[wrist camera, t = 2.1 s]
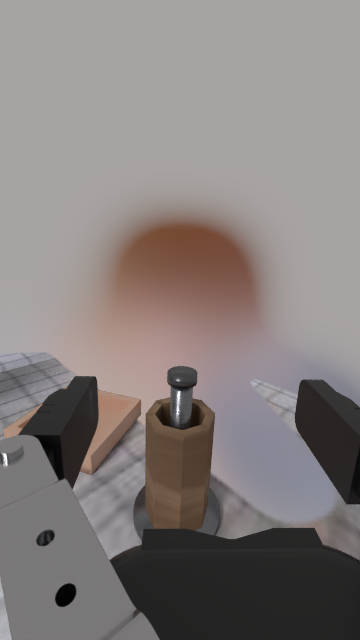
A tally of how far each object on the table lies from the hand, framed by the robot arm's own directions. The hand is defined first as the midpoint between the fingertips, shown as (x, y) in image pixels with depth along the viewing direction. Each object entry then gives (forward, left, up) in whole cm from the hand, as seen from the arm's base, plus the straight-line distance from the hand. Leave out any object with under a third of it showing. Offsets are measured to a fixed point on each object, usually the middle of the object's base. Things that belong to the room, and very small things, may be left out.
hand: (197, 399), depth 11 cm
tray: (-20, +18, -19) cm, 32 cm away
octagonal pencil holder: (-4, +11, -18) cm, 21 cm away
